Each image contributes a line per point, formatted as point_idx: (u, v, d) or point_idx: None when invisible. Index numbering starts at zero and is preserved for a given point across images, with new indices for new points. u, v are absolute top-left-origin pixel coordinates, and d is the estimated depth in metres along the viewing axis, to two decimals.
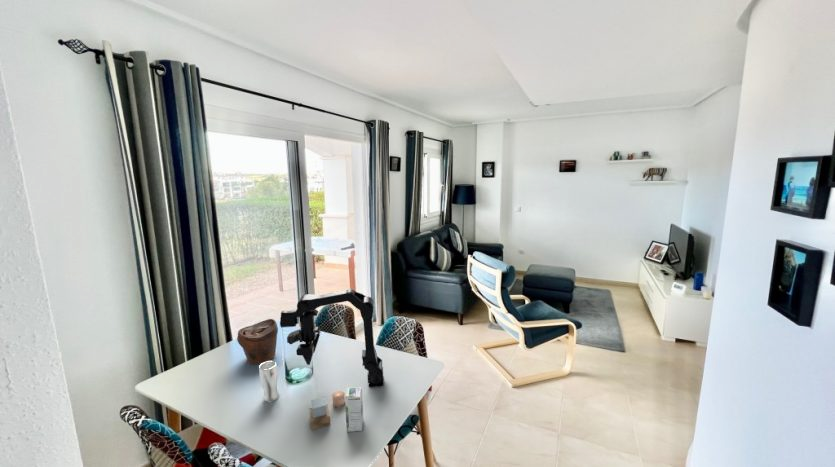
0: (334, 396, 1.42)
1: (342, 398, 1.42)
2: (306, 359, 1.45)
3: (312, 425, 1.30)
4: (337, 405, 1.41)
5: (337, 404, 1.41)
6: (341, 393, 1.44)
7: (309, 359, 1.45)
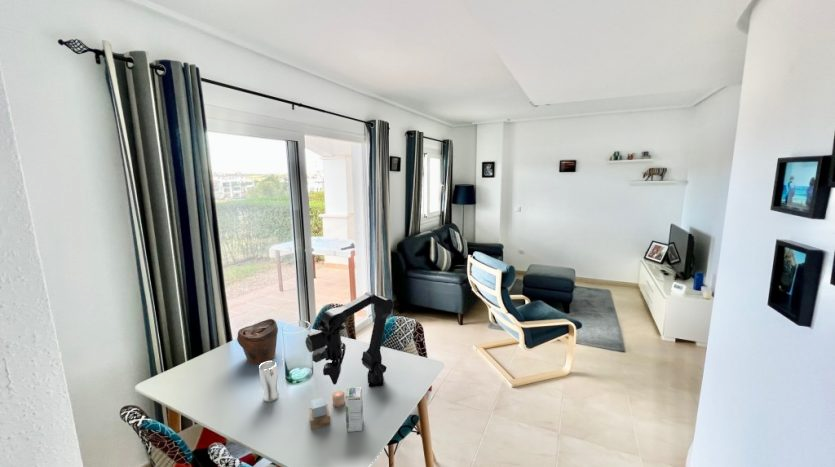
0: (334, 396, 1.42)
1: (342, 398, 1.42)
2: (332, 379, 1.35)
3: (312, 425, 1.30)
4: (337, 405, 1.41)
5: (337, 404, 1.41)
6: (341, 393, 1.44)
7: (336, 379, 1.35)
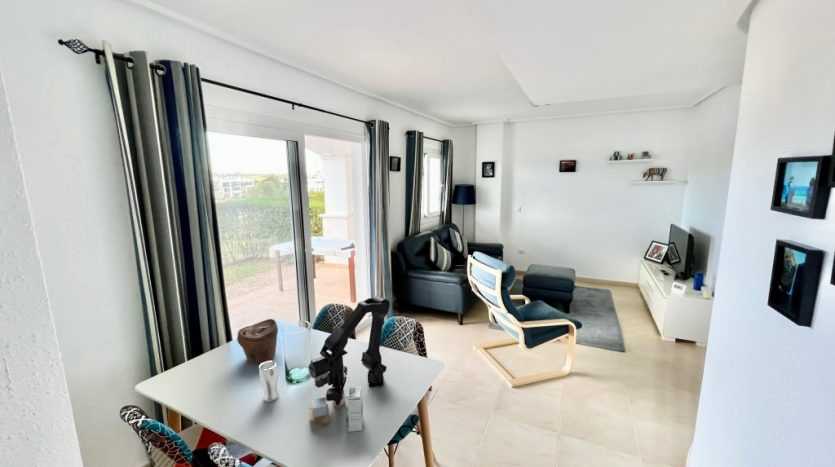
0: None
1: None
2: (336, 400, 1.39)
3: (312, 425, 1.30)
4: None
5: None
6: None
7: (339, 400, 1.40)
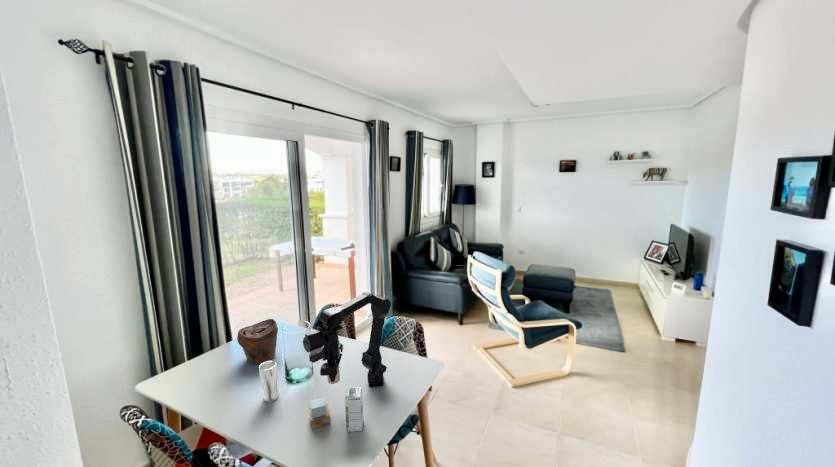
0: None
1: (337, 374, 1.38)
2: (330, 376, 1.35)
3: (312, 425, 1.30)
4: None
5: None
6: None
7: (334, 376, 1.36)
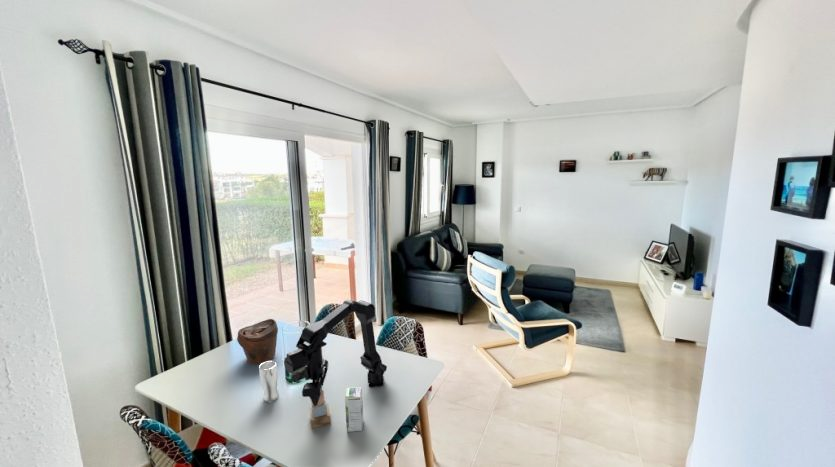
0: None
1: (321, 397, 1.31)
2: (313, 400, 1.26)
3: (313, 425, 1.30)
4: None
5: None
6: None
7: (316, 400, 1.26)
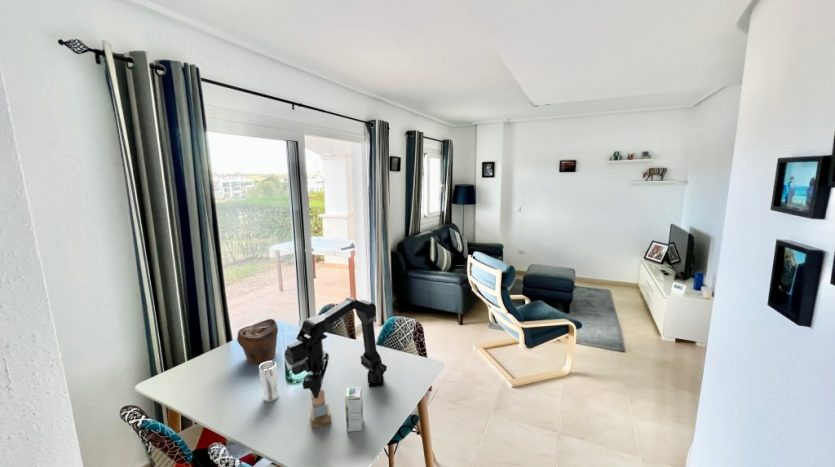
0: None
1: (322, 397, 1.31)
2: (313, 392, 1.26)
3: (313, 424, 1.30)
4: (316, 405, 1.30)
5: (316, 404, 1.30)
6: (321, 392, 1.33)
7: (317, 392, 1.26)
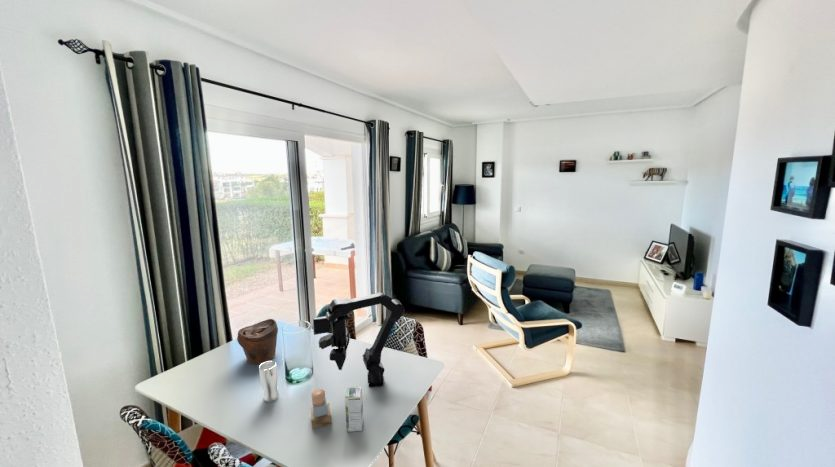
0: (313, 395, 1.31)
1: (322, 397, 1.31)
2: (338, 364, 1.43)
3: (313, 424, 1.30)
4: (317, 404, 1.31)
5: (316, 404, 1.30)
6: (321, 391, 1.33)
7: (341, 364, 1.43)
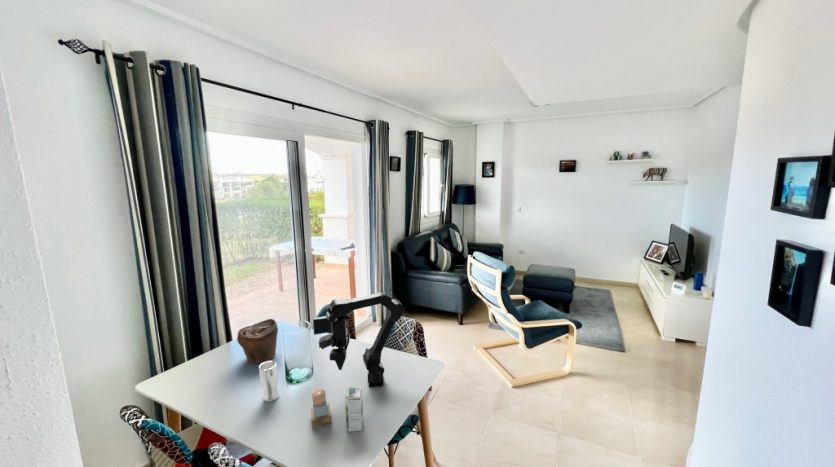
0: (314, 395, 1.31)
1: (322, 397, 1.31)
2: (338, 364, 1.43)
3: (313, 424, 1.30)
4: (317, 405, 1.31)
5: (317, 404, 1.30)
6: (322, 392, 1.33)
7: (341, 364, 1.43)
